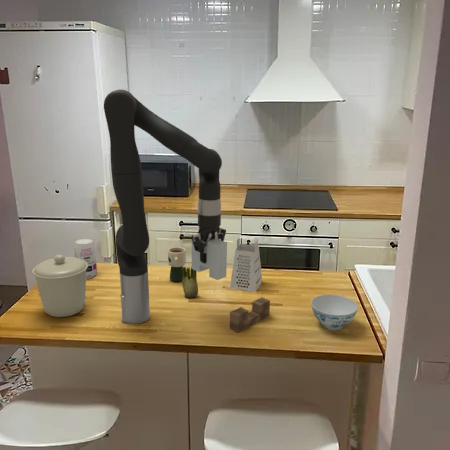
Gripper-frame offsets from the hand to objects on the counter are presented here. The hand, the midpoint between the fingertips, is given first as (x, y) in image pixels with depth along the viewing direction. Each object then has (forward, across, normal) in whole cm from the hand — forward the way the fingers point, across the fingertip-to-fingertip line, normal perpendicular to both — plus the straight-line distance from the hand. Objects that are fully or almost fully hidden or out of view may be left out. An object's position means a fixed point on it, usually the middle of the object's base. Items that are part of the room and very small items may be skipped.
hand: (208, 260), depth 156 cm
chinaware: (+20, +26, -34) cm, 47 cm away
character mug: (+21, +11, +31) cm, 39 cm away
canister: (+21, -34, +38) cm, 55 cm away
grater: (+20, +28, +9) cm, 36 cm away
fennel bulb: (+21, +6, +16) cm, 27 cm away
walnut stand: (+20, +7, -13) cm, 25 cm away
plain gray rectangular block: (+4, 0, 0) cm, 4 cm away
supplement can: (+21, -13, +61) cm, 66 cm away
